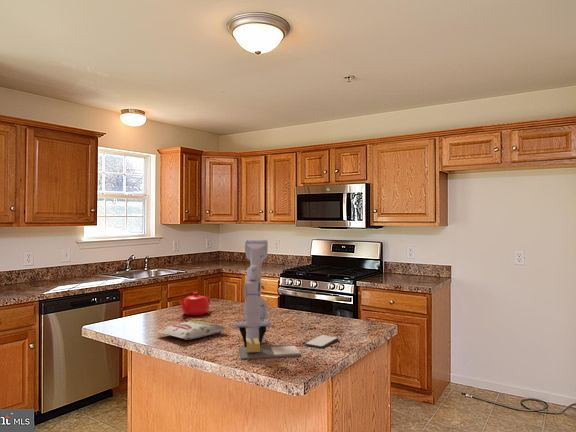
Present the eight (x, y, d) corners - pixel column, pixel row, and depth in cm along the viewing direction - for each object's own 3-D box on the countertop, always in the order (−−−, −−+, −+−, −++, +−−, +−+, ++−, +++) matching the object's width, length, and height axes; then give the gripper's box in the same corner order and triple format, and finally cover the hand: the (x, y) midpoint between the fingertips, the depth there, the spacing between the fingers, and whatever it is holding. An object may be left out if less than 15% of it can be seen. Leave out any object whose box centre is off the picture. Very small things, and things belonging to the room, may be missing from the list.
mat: (238, 348, 171) (238, 347, 171) (293, 346, 175) (293, 344, 175) (240, 359, 157) (240, 358, 157) (301, 356, 162) (301, 354, 162)
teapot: (199, 309, 251) (199, 288, 251) (219, 311, 243) (219, 290, 243) (167, 316, 230) (167, 294, 230) (188, 320, 222) (188, 297, 222)
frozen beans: (229, 321, 194) (183, 331, 175) (229, 334, 194) (183, 345, 175) (201, 316, 208) (156, 325, 189) (201, 328, 208) (156, 338, 189)
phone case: (322, 350, 171) (339, 340, 185) (322, 346, 172) (339, 337, 185) (303, 347, 176) (321, 337, 190) (303, 343, 176) (321, 334, 190)
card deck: (245, 346, 169) (245, 338, 169) (257, 345, 170) (257, 337, 170) (247, 352, 161) (247, 344, 161) (260, 351, 162) (260, 343, 162)
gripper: (234, 314, 160) (234, 350, 160) (272, 313, 163) (272, 348, 163) (233, 310, 167) (233, 344, 167) (269, 309, 170) (269, 343, 170)
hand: (252, 346), depth 165 cm, fingers closed on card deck, 5 cm apart
